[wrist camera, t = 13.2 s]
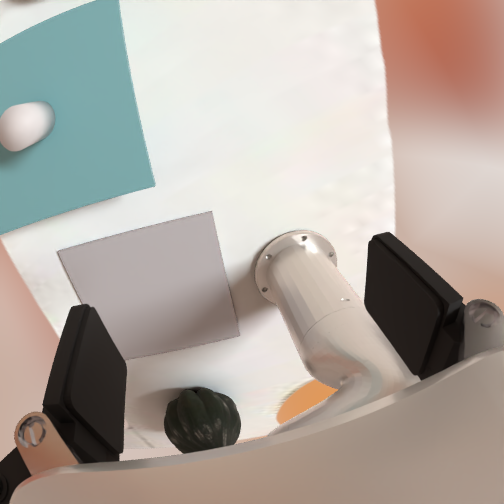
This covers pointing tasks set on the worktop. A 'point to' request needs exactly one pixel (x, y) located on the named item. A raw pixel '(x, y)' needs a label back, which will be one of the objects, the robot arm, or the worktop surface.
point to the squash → (202, 421)
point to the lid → (68, 117)
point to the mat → (156, 286)
